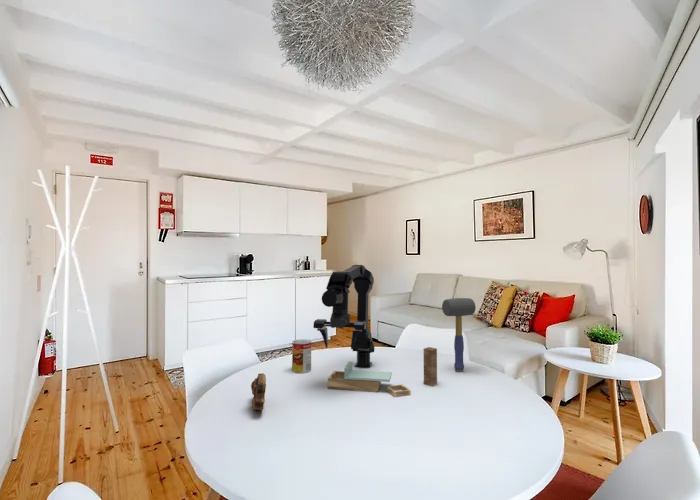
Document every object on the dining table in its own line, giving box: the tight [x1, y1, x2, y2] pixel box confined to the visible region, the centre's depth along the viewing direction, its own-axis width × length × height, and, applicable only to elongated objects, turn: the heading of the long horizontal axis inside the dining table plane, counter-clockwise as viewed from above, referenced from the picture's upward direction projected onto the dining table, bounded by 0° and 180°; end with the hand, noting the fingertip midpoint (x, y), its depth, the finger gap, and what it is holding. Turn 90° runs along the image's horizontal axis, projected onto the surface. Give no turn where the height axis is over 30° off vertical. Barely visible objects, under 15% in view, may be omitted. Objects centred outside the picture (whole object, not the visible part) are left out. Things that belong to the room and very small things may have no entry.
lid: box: [343, 361, 393, 383], centre depth 129 cm, size 9×16×4 cm, turn 79°
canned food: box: [291, 338, 312, 374], centre depth 148 cm, size 8×8×12 cm
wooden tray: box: [327, 370, 382, 393], centre depth 130 cm, size 9×18×4 cm, turn 79°
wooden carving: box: [250, 372, 267, 411], centre depth 111 cm, size 16×5×10 cm, turn 21°
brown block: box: [423, 346, 438, 387], centre depth 132 cm, size 4×4×13 cm
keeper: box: [386, 384, 412, 398], centre depth 123 cm, size 6×6×2 cm
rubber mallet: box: [441, 297, 477, 372], centre depth 148 cm, size 12×8×30 cm, turn 107°
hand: (339, 348), depth 131 cm, fingers open, 9 cm apart
